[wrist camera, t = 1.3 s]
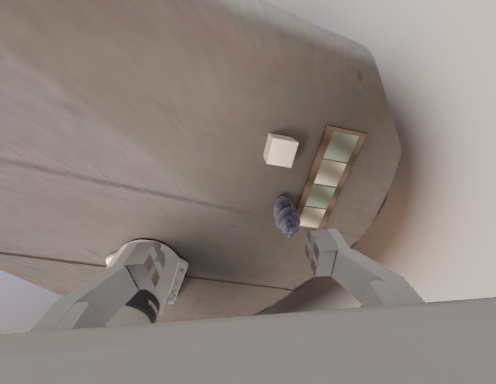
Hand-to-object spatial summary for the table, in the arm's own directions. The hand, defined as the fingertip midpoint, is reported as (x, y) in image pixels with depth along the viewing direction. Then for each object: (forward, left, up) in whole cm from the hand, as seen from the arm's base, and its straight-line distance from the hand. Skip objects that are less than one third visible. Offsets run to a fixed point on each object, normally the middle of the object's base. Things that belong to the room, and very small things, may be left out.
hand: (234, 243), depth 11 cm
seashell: (-12, -12, -28) cm, 33 cm away
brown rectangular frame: (-6, -20, -28) cm, 35 cm away
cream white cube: (0, -8, -28) cm, 29 cm away
